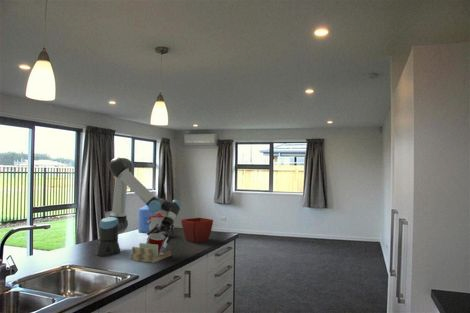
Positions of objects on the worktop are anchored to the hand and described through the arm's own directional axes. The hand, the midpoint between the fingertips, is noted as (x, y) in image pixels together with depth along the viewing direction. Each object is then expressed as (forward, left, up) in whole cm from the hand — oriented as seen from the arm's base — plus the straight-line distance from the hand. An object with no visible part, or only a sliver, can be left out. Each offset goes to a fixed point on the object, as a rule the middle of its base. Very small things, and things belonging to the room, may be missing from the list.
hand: (155, 246), depth 223 cm
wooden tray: (-1, -2, -7) cm, 7 cm away
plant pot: (-1, +58, -7) cm, 58 cm away
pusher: (-1, -5, -6) cm, 8 cm away
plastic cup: (-3, +4, -6) cm, 8 cm away
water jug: (-63, +76, -7) cm, 99 cm away
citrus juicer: (-42, +62, -7) cm, 75 cm away
